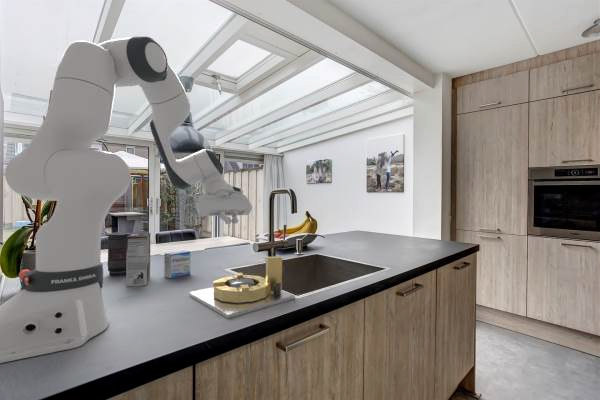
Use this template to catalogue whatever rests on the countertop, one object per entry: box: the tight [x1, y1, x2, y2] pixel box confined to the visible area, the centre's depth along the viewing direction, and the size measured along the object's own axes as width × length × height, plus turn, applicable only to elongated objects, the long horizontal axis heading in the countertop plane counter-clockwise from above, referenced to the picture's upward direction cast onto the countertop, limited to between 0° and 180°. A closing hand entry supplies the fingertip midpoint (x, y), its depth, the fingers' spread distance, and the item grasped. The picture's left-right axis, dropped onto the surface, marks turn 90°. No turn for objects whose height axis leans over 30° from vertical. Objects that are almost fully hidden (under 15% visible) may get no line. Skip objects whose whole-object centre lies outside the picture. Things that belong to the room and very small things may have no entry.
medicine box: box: [163, 250, 191, 280], centre depth 111 cm, size 8×4×9 cm, turn 143°
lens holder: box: [212, 255, 283, 303], centre depth 89 cm, size 19×16×10 cm
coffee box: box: [125, 232, 151, 288], centre depth 102 cm, size 9×6×16 cm
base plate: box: [188, 279, 296, 319], centre depth 89 cm, size 22×22×4 cm
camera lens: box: [107, 232, 132, 278], centre depth 112 cm, size 8×8×15 cm
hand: (232, 222), depth 105 cm, fingers closed
